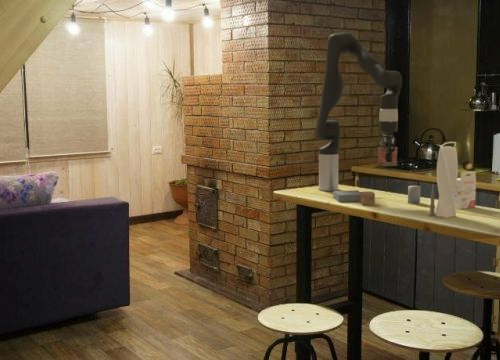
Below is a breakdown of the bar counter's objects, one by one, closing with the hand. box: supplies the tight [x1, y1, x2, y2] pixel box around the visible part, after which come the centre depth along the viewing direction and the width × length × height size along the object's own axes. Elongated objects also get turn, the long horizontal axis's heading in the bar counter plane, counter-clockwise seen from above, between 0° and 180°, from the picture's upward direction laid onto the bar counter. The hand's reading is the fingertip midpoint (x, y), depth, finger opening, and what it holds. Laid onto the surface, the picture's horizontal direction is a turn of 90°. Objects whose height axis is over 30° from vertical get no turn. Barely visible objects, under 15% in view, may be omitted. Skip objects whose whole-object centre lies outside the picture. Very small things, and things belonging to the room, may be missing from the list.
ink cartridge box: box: [453, 170, 477, 210], centre depth 245 cm, size 9×5×15 cm, turn 117°
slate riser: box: [332, 189, 361, 203], centre depth 267 cm, size 11×11×3 cm
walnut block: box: [359, 190, 376, 206], centre depth 255 cm, size 5×5×5 cm
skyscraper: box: [428, 141, 459, 219], centre depth 228 cm, size 8×8×28 cm
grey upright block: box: [407, 185, 421, 205], centre depth 257 cm, size 5×5×7 cm
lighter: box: [377, 141, 399, 167], centre depth 255 cm, size 8×3×10 cm, turn 85°
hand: (387, 161), depth 255 cm, fingers closed on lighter, 3 cm apart
